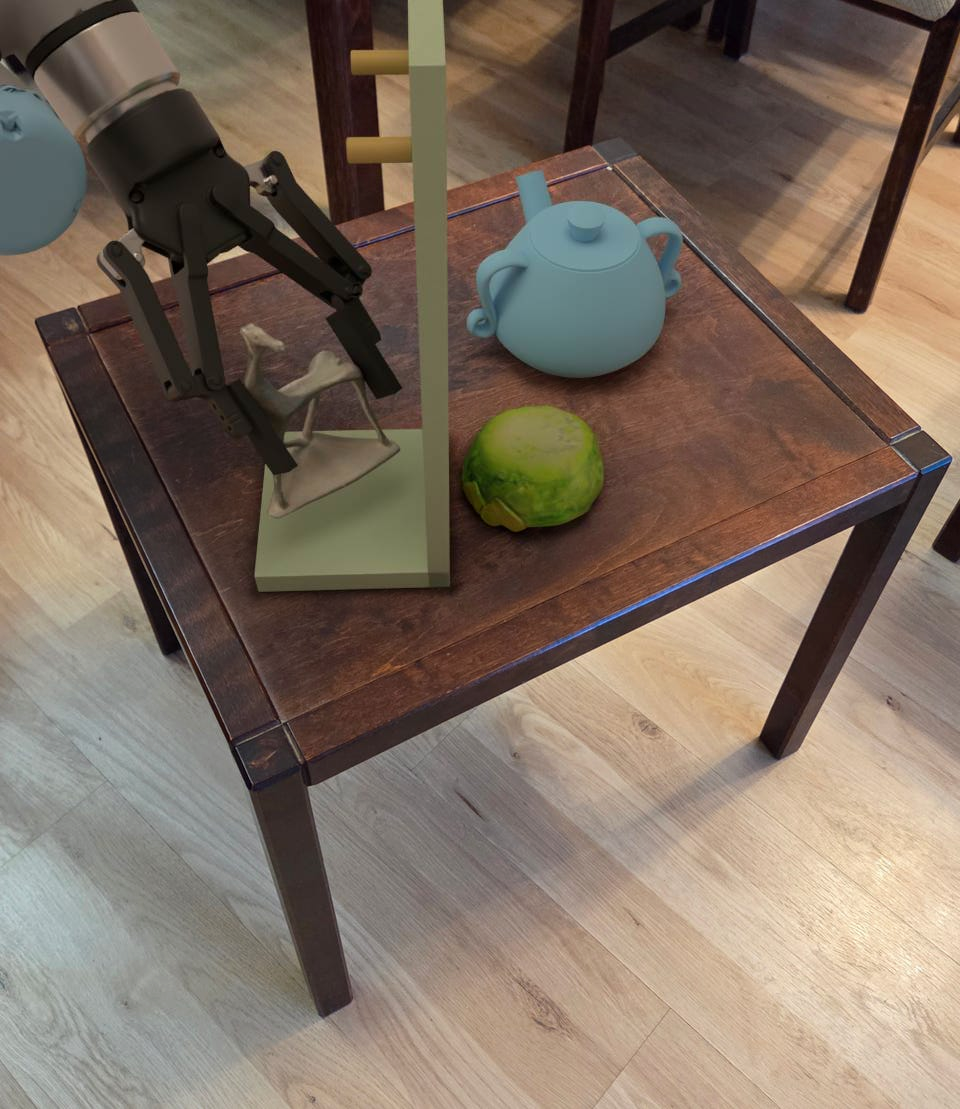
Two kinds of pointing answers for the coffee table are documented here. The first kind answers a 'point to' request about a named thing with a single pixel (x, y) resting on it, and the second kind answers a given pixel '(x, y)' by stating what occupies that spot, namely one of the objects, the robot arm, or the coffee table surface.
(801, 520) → the coffee table surface
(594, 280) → the teapot
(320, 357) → the figurine
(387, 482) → the rack
